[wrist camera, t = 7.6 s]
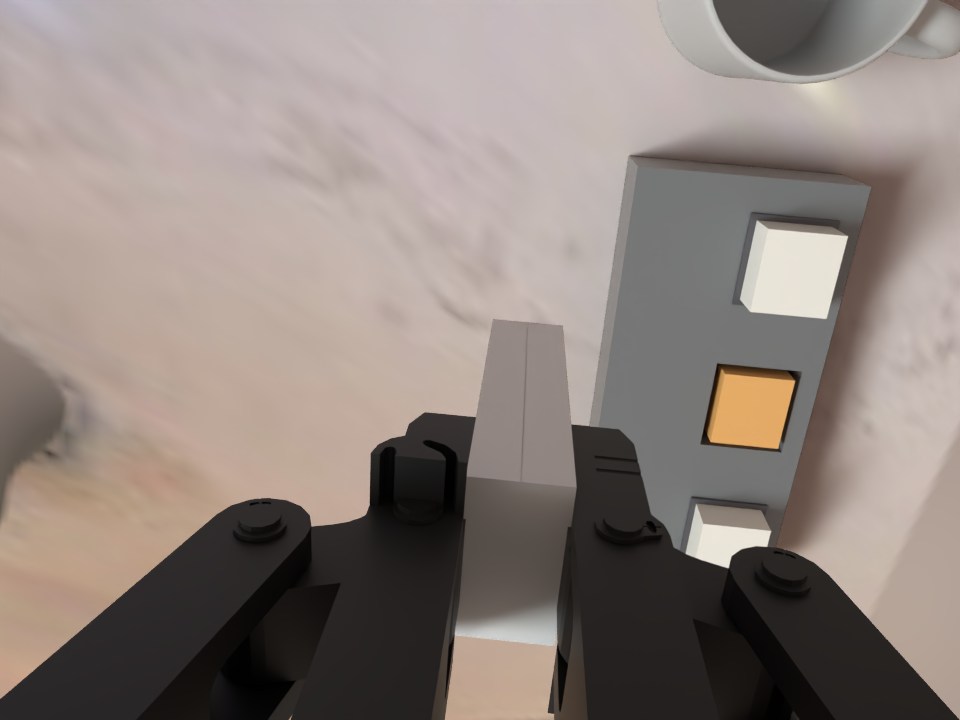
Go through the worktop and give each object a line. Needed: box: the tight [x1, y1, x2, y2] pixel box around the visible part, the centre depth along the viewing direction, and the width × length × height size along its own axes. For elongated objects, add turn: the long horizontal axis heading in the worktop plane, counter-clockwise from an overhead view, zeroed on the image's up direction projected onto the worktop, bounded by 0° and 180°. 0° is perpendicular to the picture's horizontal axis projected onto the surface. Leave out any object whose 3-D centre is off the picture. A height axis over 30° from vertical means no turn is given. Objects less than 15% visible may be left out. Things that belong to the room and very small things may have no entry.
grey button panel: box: [589, 156, 871, 568], centre depth 42 cm, size 24×11×6 cm, turn 176°
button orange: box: [704, 363, 795, 449], centre depth 42 cm, size 4×4×3 cm
